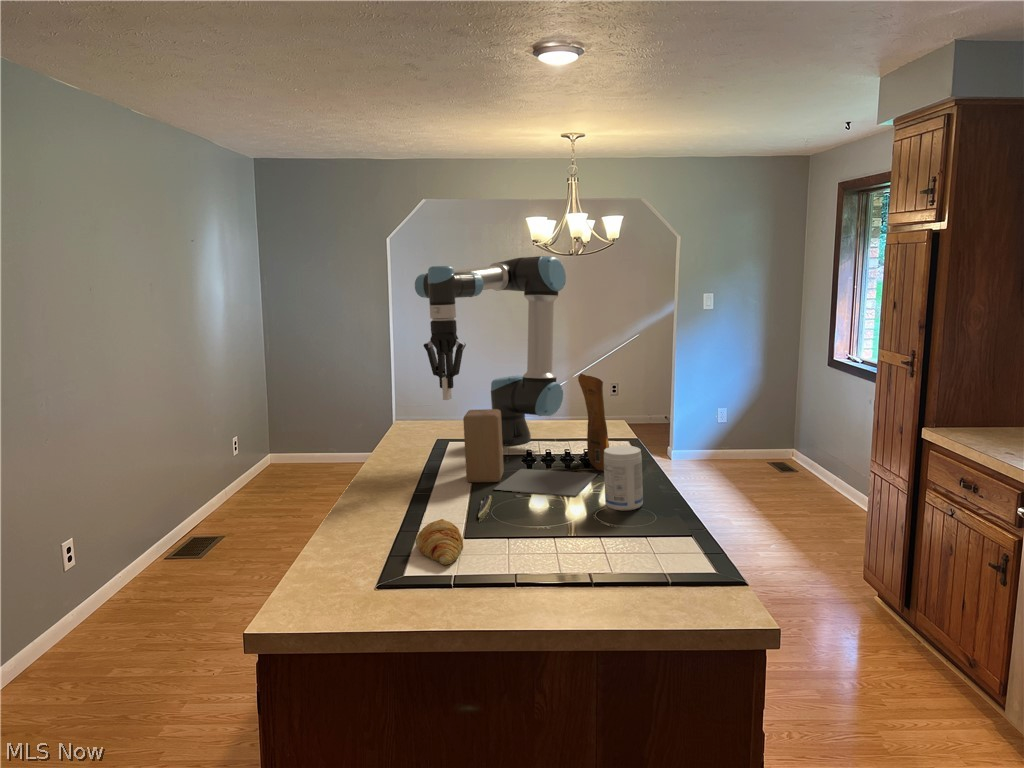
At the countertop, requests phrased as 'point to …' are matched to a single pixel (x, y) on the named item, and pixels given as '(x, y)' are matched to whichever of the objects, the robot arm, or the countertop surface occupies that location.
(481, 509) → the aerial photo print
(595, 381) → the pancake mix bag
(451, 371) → the robot arm
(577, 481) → the mat
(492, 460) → the wooden block
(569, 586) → the countertop surface
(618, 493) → the supplement tub
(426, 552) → the croissant
